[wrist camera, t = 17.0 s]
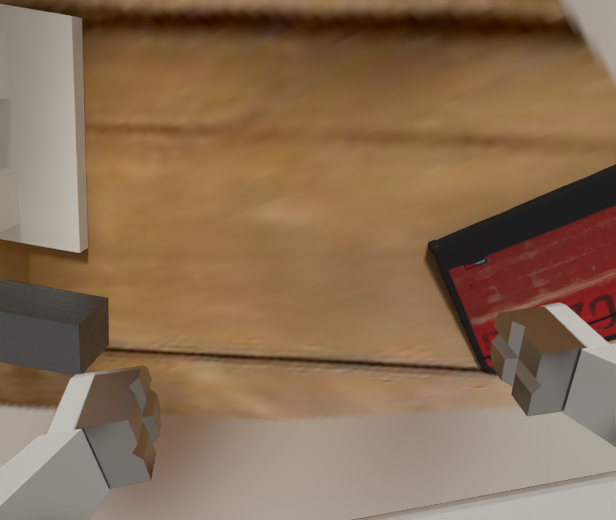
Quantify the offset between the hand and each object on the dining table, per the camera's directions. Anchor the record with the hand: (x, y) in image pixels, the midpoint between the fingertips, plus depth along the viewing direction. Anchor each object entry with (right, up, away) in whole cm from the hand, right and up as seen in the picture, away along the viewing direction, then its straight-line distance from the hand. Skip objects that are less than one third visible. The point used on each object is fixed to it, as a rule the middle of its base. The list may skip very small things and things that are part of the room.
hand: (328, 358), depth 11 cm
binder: (+23, +2, +32) cm, 39 cm away
